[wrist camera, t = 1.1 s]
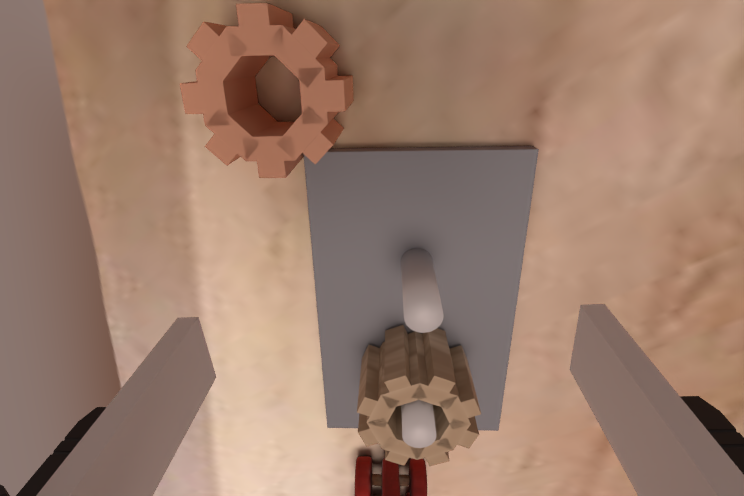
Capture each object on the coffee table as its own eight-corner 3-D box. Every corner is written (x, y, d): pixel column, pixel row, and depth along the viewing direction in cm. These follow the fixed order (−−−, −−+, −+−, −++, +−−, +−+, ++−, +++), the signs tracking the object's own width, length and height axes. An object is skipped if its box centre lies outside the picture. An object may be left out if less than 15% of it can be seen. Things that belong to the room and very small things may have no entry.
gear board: (306, 148, 30) (277, 181, 22) (533, 145, 30) (584, 178, 22) (329, 417, 41) (314, 503, 33) (495, 420, 40) (520, 508, 32)
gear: (344, 344, 35) (336, 396, 30) (446, 310, 34) (457, 359, 28) (386, 418, 39) (385, 477, 33) (480, 390, 37) (496, 448, 31)
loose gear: (210, 15, 27) (164, 5, 21) (350, 12, 27) (340, 0, 21) (232, 156, 31) (198, 178, 25) (355, 155, 30) (347, 176, 25)
